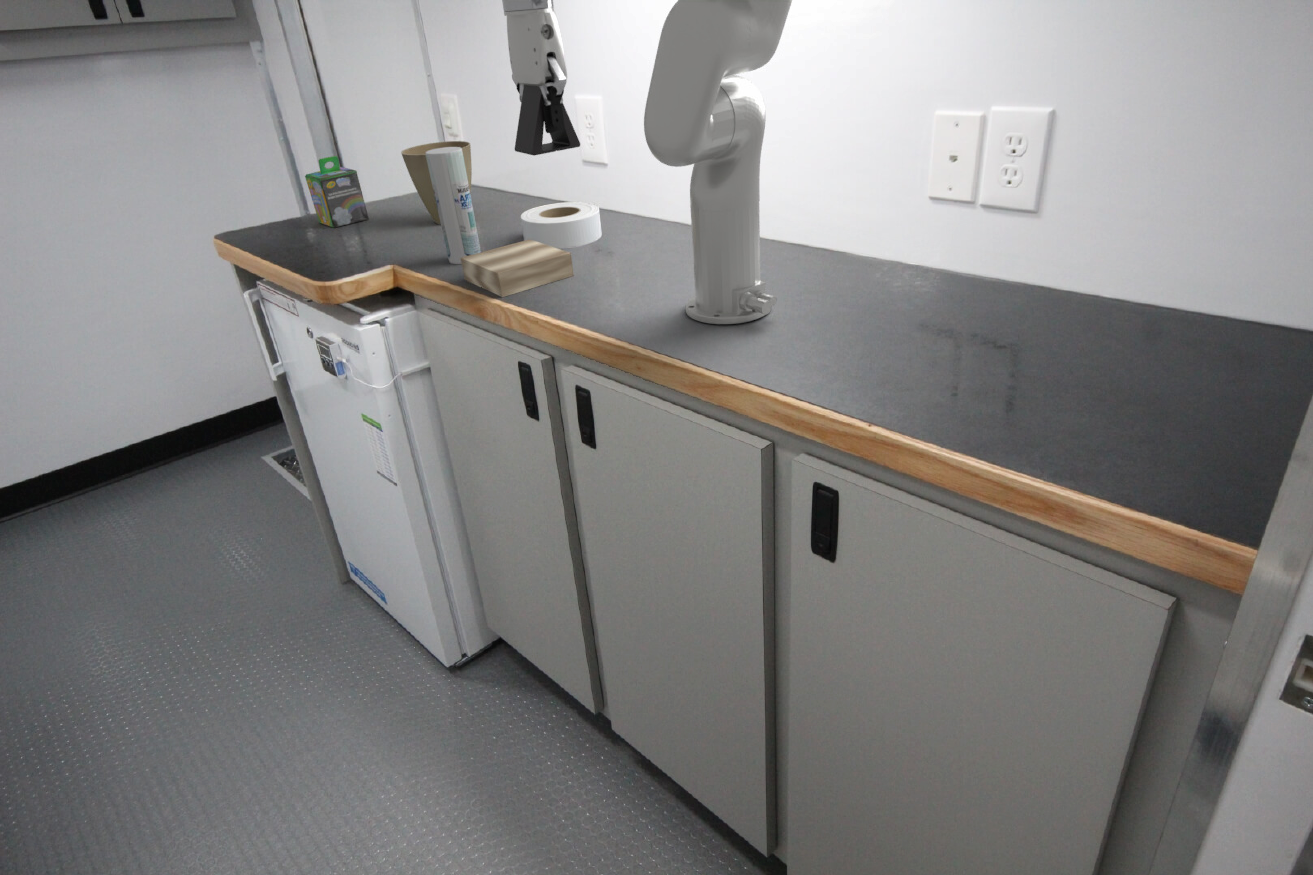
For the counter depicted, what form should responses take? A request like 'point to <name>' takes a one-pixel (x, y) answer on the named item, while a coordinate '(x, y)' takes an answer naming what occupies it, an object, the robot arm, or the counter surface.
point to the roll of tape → (562, 224)
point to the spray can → (453, 202)
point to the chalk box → (336, 194)
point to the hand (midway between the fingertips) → (544, 128)
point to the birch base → (517, 267)
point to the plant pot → (421, 175)
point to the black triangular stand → (540, 126)
